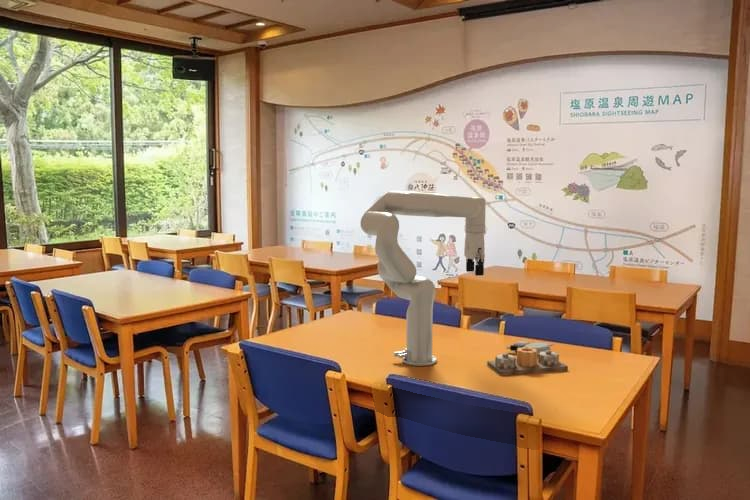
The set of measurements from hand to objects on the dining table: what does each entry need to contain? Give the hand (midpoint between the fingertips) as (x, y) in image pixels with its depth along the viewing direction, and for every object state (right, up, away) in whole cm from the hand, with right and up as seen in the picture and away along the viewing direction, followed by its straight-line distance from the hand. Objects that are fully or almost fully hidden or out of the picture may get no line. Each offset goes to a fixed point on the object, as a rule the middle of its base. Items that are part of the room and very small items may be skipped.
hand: (474, 273), depth 238 cm
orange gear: (+15, -31, -20) cm, 40 cm away
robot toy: (+21, -31, -2) cm, 37 cm away
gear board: (+15, -33, -20) cm, 41 cm away
